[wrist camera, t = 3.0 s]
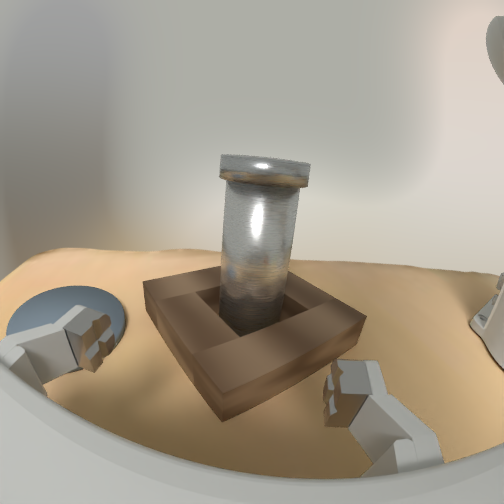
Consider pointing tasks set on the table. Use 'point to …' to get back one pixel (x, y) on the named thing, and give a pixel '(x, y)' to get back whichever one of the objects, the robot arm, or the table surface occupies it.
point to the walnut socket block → (248, 338)
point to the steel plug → (257, 238)
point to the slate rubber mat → (67, 309)
